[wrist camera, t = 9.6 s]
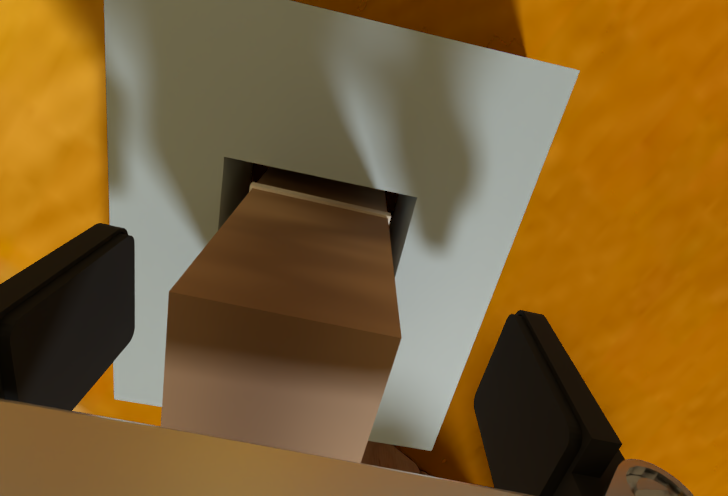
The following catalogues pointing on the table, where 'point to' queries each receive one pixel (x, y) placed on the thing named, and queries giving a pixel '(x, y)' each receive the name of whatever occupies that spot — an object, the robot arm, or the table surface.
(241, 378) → the peg
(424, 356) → the grey square-hole block
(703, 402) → the table surface
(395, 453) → the wooden block structure
